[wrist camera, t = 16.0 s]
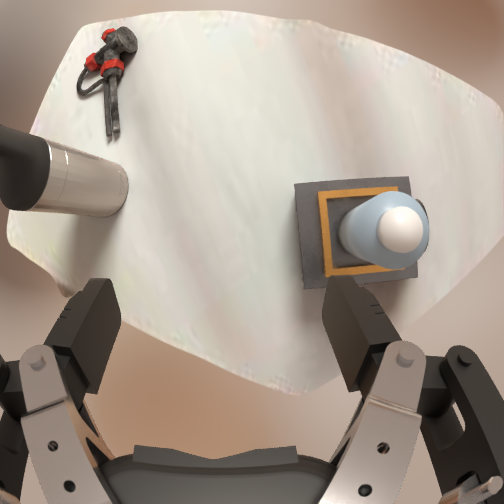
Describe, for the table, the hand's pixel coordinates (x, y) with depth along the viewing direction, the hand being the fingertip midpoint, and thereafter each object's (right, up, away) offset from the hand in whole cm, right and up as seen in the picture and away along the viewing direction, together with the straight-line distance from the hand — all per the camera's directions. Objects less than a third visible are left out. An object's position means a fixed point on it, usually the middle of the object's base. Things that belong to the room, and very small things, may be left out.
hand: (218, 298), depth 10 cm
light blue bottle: (+13, +4, +21) cm, 25 cm away
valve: (-27, +34, +33) cm, 54 cm away
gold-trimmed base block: (+14, +4, +27) cm, 31 cm away
